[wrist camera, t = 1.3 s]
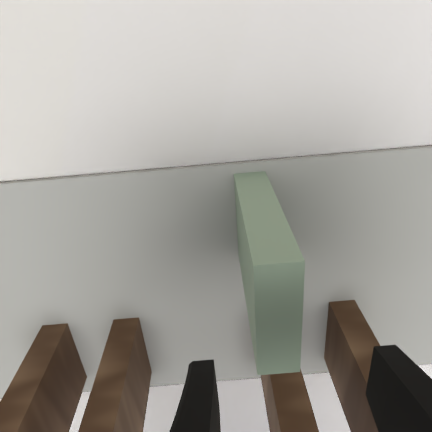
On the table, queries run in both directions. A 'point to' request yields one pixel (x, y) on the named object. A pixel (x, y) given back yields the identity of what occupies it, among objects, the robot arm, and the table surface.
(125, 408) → the domino
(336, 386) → the domino
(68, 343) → the domino
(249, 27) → the table surface
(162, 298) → the grey mat
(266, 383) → the domino
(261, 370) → the sage domino
